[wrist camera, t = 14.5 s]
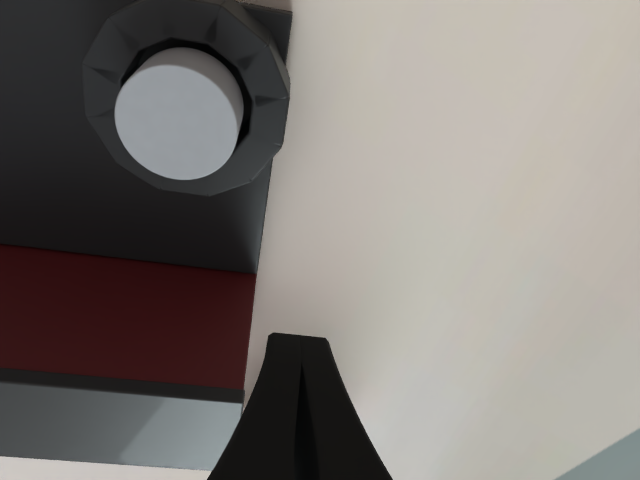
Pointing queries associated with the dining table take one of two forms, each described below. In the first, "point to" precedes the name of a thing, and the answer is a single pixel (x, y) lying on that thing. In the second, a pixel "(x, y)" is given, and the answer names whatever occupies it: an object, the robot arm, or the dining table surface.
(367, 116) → the dining table surface
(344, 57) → the dining table surface
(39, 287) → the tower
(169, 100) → the power button
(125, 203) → the dark grey drip tray
